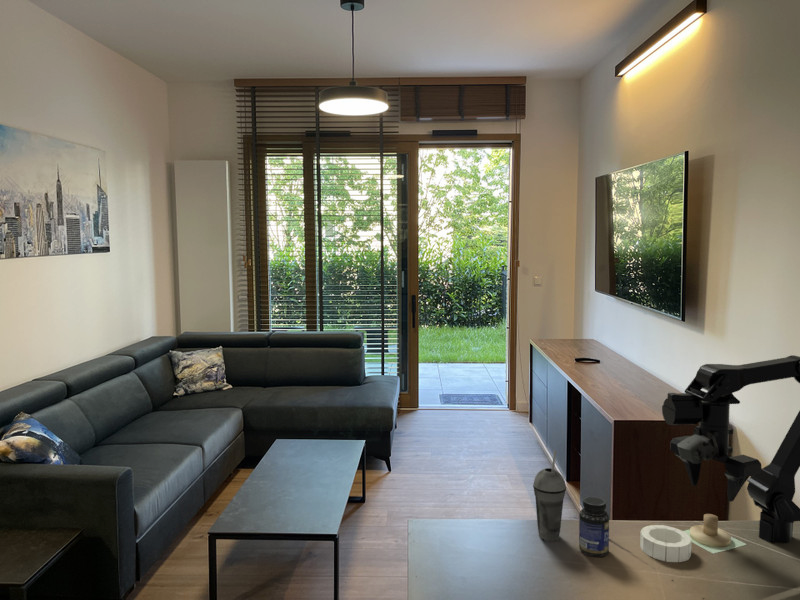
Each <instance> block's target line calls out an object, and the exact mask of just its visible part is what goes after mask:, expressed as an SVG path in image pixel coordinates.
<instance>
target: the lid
mask: <svg viewBox="0 0 800 600" xmlns="http://www.w3.org/2000/svg"><path fill="white" fill-rule="evenodd" d="M718 526H719V516H717V515H715V514H712V513H705V514H703V524H697V525H692V526H691V527H690V528H689V529H690V537H691V538H692V539H693V540H694V541H696V542H698V543H700V544H703V545H706V546H710V547H718V548H721V547H727V546H729V545H730V544H731V537H732V536H731V534H730V533H729V532H728V531H726V530H724V529H722V528H720V527H718Z"/></svg>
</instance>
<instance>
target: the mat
mask: <svg viewBox="0 0 800 600" xmlns="http://www.w3.org/2000/svg"><path fill="white" fill-rule="evenodd" d="M682 531H683V532H685V533H687V534H688V535H689V537H690V528H689V529H686V530H682ZM690 538H691V537H690ZM691 539H692V538H691ZM692 544H694V545H695V546H697V547H700V548H702V549H703V550H705V551H707V552H709V553H711V554H718V553H721V552H725V551H728V550H732V549H736V548H740V547H743V546H747V545H748V544H746V543H745V542H743V541H741V540H739V539H736V538H735V537H733V536H731V544H730V545H729V546H727V547H721V548H718V547H710V546H706V545H703V544H700V543H698V542H696V541H694V540H693V539H692Z"/></svg>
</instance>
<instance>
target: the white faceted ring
mask: <svg viewBox="0 0 800 600" xmlns="http://www.w3.org/2000/svg"><path fill="white" fill-rule="evenodd" d="M683 531H684V530H681V529H678V528H677V527H672V526H669V525H662V524H661V525H660V524H650V525H647V526H644V527H642V529H641V530H640V534H639V535H640V538H639V539H640V540H639V541H640V542H639V543H640V544H639V546H640V549H641V551H642V552H643V553H644V554H645V555H647V556H648V557H651V558H653V559H655V560H659V561H661V562H667V563H681V562H686V561H689V559H690V558H691V556H692V544H693V543H692V539H691V538H690V537H689V535H688V534H687V533H685V532H683Z"/></svg>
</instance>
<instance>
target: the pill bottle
mask: <svg viewBox="0 0 800 600" xmlns="http://www.w3.org/2000/svg"><path fill="white" fill-rule="evenodd" d="M582 506H583V508H581V510H580V511H579V515H578V516H579V517H578V519H579V521H578V522H579V523H578V529H579V530H578V534H579V535H578V547H579V550H580V551H581V552H582V553H583V554H585V555H587V556H590V557H596V558H602V557H604V556H607V555H608V554H609V552H610V550H609V549H610V515H609V513H608V512H607V511H606V509H607V501H606V500H605V499H603V498H601V497H596V496H586V497H584V498H583V500H582Z"/></svg>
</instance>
